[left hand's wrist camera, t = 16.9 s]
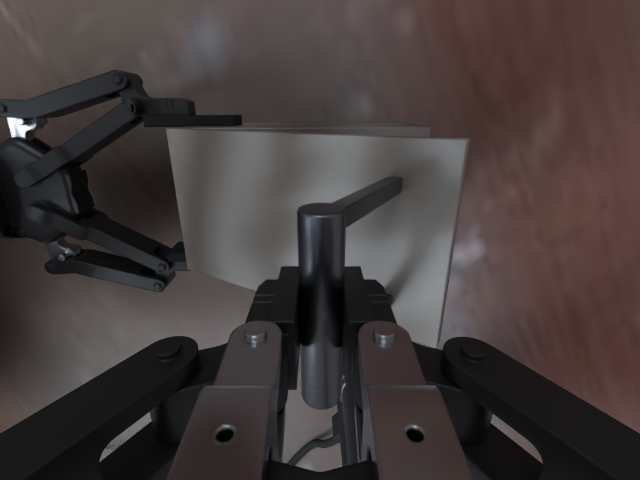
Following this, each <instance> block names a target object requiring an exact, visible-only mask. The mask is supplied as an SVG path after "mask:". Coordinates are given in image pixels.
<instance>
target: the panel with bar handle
mask: <svg viewBox="0 0 640 480" xmlns="http://www.w3.org/2000/svg"><path fill="white" fill-rule="evenodd" d="M166 133H167V139H168V146H169V152H170V159H171V165H172V171H173V178H174V184H175V191H176V197H177V203H178V210H179V216H180V223H181V229H182V236H183V242H184V248H185V255H186V261H187V268H188V270H191V271H195V272H198V273H201V274H204V275H207V276H210V277H213V278H216V279H220V280H223V281H226V282H229V283H232V284H235V285H238V286H241V287H245V288H248V289H251V290H254V291H257V288H258V286H259V285H260V284H262V283H263V282H264V281H265V280H266V279H278V277H279V273H280V269H281V266H298V271H299V309H300V347H301V384H302V397H303V399H304V401H305V402H306V404H307V405H309V406H310V407H312V408H315V409H328V408H331V407H333V406H334V405H336V404H337V403H338V401H339V400H340V398H341V391H342V376H343V375H344V365H343V354H342V321H343V286H344V283H345V266H360V267H361V270H362V274H363V278H364V279H375V280H377V281H378V282H379V283H380V284H381V285H383V286H384V289H385V291H386V294H387V297H388V300H389V303H390V305H391V308H392V311H393V313H394V316H395V319H396V322H397V324H398V325H400V326H401V327H403V328H404V329H405V330H406V331H407V332H408V333H409V335H410V337H411V340H412V341H413V342H416V343H419V344H423V345H426V346H429V347H432V348H435V349H436V348H437V346H438V344H439V341H440V336H441V329H442V323H443V316H444V309H445V303H446V296H447V290H448V283H449V276H450V270H451V263H452V256H453V250H454V243H455V237H456V230H457V223H458V217H459V210H460V204H461V197H462V190H463V184H464V177H465V170H466V164H467V157H468V151H469V144H470V139H469V138H446V137H418V136H389V135H360V134H332V133H303V132H274V131H246V130H217V129H188V128H167V129H166Z"/></svg>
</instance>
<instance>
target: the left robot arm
mask: <svg viewBox="0 0 640 480" xmlns="http://www.w3.org/2000/svg"><path fill="white" fill-rule="evenodd" d="M299 353H300V309H299V271H298V266H281V269H280V273H279V277H278V279H266V280H265V281H264V282H263V283H262V284H260V285H259V286H258V288H257V291H256V294H255V297H254V300H253V303H252V305H251V308H250V311H249V314H248V317H247V319H246V322H245V324H242V325H240V326H239V327H237V328H236V329H235V330H234V331H233V332H232V333H231V335H230V337H229V340H228V343H226V344H223V345H221V346H217V347H212V348H208V349H203V350H198V345H197V343H196V341H195V340H193V339H192V338H189V337H185V336H174V337H168V338H165V339H161V340H159V341H157V342H155V343H153V344H151V345H149V346H148V347H146V348H144V349H142V350H141V351H139V352H137V353H136V354H134V355H132V356H131V357H129V358H127V359H126V360H124V361H122V362H121V363H119V364H117V365H115V366H114V367H112V368H110V369H109V370H107V371H105V372H104V373H102V374H100V375H99V376H97V377H95V378H94V379H92V380H90V381H88V382H87V383H85V384H83V385H82V386H80V387H78V388H77V389H75V390H73V391H72V392H70V393H68V394H66V395H65V396H63V397H61V398H60V399H58V400H56V401H55V402H53V403H51V404H50V405H48V406H46V407H45V408H43V409H41V410H39V411H38V412H36V413H34V414H33V415H31V416H29V417H28V418H26V419H24V420H23V421H21V422H19V423H18V424H16V425H14V426H12V427H11V428H9V429H7V430H6V431H4V432H2V433H1V434H0V480H640V434H639V433H638V432H636V431H634V430H633V429H631V428H629V427H628V426H626V425H624V424H622V423H621V422H619V421H617V420H616V419H614V418H612V417H611V416H609V415H607V414H606V413H604V412H602V411H601V410H599V409H597V408H595V407H594V406H592V405H590V404H589V403H587V402H585V401H584V400H582V399H580V398H579V397H577V396H575V395H574V394H572V393H570V392H568V391H567V390H565V389H563V388H562V387H560V386H558V385H557V384H555V383H553V382H552V381H550V380H548V379H546V378H545V377H543V376H541V375H540V374H538V373H536V372H535V371H533V370H531V369H530V368H528V367H526V366H525V365H523V364H521V363H519V362H518V361H516V360H514V359H513V358H511V357H509V356H508V355H506V354H504V353H503V352H501V351H499V350H498V349H496V348H494V347H492V346H491V345H489V344H487V343H485V342H483V341H480V340H477V339H474V338H469V337H455V338H452V339H449V340H448V341H446V342H445V344H444V346H443V350H439V349H434V348H430V347H426V346H422V345H419V344H416V343H414V342H412V340H411V337H410V335H409V333H408V332H407V331H406V330H405V329H404V328H403V327H401V326H400V325H398V324H397V322H396V319H395V316H394V313H393V311H392V308H391V305H390V303H389V300H388V297H387V294H386V291H385V289H384V286H383V285H381V284H380V283H379V282H378V281H377V280H375V279H364V278H363V274H362V270H361V267H360V266H345V283H344V286H343V321H342V354H343V365H344V376H345V378H344V379H343V381H342V391H341V398H340V400H339V401H338V403H337V410H338V412H337V413H336V414H335V415H334V416H332V425H333V437H331V438H329V439H326V440H319V439H315V440H313V441H311V442H309V443H308V444H306V445H305V446H304V447H303V448H301V449H300V450H299V451H298V452H297V453H296V454H295V455H294V457H293V458H292V459H291V460H290V461H289V462H288V463H287V464H285V463H282V457H283V442H284V428H285V413H286V412H285V404H286V401H287V395H288V390H296V389H297V377H298V365H299ZM148 412H150V415H151V419H152V421H151V422H150V423H149V424H148V425H146V426H145V427H144V428H142V429H141V430H140V431H139V432H137V433H136V434H135V435H134V436H132V437H131V438H130V439H129V440H127V441H126V442H125V443H123V444H122V445H121V446H120V447H118V448H117V449H116V450H115V451H113V452H112V453H111V454H110V455H108V456H107V457H106V458H104V459H103V460H102V461H101V462H99V460H100V456H101V454H102V452H103V450H104V449H105V447H106V446H107V445H108V444H109V443H110V442H111V441H112V440H113V439H114V438H115V437H117V436H118V435H119V434H121V433H122V432H123V431H125V430H126V429H127V428H128V427H130V426H131V425H132V424H134V423H135V422H136V421H138V420H139V419H140V418H142V417H143V416H144V415H146V414H147V413H148ZM492 414H494V415H496V416H497V417H498V418H500V419H501V420H502V421H504V422H505V423H506V424H508V425H509V426H510V427H512V428H513V429H514V430H515V431H517V432H518V433H519V434H521V435H522V436H523V437H525V438H526V439H527V440H529V441H530V442H531V443H532V444H533V445H534V446H535V448H536V449H537V450H538V452H539V453H540V455H541V458H542V461H543V464H542V463H541V462H539V461H538V460H537V459H536V458H534V457H533V456H532V455H530V454H529V453H528V452H527V451H525V450H524V449H523V448H522V447H520V446H519V445H518V444H517V443H515V442H514V441H513V440H511V439H510V438H509V437H508V436H506V435H505V434H504V433H503V432H501V431H500V430H499V429H498V428H496V427H495V426H494V425H492V424H491V418H492ZM339 442H340V444H341V455H342V467H340V468H336V469H332V470H329V471H325V472H315V471H311V470H308V469H304V468H300V467H296V466H295V464H296V463H297V462H298V461H299V460H300V459H301V458H302V457H303V456H304V455H305V454H306V453H307V452H308V451H310V450H311V449H313V448H315V447H320V448H326V447H330V446H332V445H335V444H337V443H339Z"/></svg>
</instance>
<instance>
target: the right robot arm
mask: <svg viewBox="0 0 640 480" xmlns="http://www.w3.org/2000/svg"><path fill="white" fill-rule="evenodd" d="M142 85H143V82H142V79H141V78H140V76H138V75H137V74H134V73H129V72H124V71H119V70H113V71H110V72H107V73H104V74H101V75H98V76H96V77H93V78H90V79H87V80H84V81H81V82H78V83H75V84H72V85H69V86H66V87H63V88H60V89H57V90H54V91H52V92H49V93H46V94H43V95H40V96H37V97H34V98H31V99H28V100H13V99H0V116H1V117H7V120H8V124H9V128H10V132H11V136H12V138H9V139H8V140H6V141H5V142H3V143H0V238H31V239H35V240H37V241H39V242H42V243H45V245H46V248H47V250H48V253H49V255H50V258H51V260H50V261H48V262H47V263H45V269H46V271H47V272H48V273H50V274H67V273H77V274H81V275H85V276H90V277H94V278H98V279H103V280H107V281H111V282H116V283H120V284H124V285H129V286H133V287H137V288H142V289H146V290H151V291H155V292H162V291H163V290H164V289H165V288H166V287H167V286H168V284H169V283H170V282H171V281H172V280H173V278H174V277H175V271H191V270H188V268H187V261H186V255H185V248H184V242H178V243H177V244H176V245H175V246H174V247H173V248H169V247H167V246H165V245H163V244H161V243H159V242H157V241H155V240H153V239H151V238H148V237H146V236H144V235H142V234H140V233H138V232H136V231H134V230H132V229H129V228H127V227H125V226H123V225H121V224H119V223H117V222H115V221H113V220H111V219H109V218H108V216H107V215H106V214H105V213H103V212H100V211H98V210H96V209H94V208H92V207H94V202H93V198H92V196H91V194H90V192H89V190H88V188H87V186H88V178H87V174H86V170H82V169H81V167H80V166H81V165H82V164H84V163H85V162H86V161H88V160H89V159H91V158H92V157H93V155H94V154H96V153H97V152H99V151H100V150H102V149H103V148H105V147H106V146H107V145H109V144H110V143H112V142H113V141H115V140H116V139H118V138H119V137H121V136H122V135H124V134H125V133H127V132H128V131H130V130H131V129H132V128H134V127H135V126H137V125H138V124H140V123H141V122H144V127H186V126H239V125H242V117H241V115H196V113H195V105H194V102H193V101H191V100H188V99H181V98H151V97H149V96H148V95H147V94H146V92H145V91H144V89H143V87H142ZM118 97H122V99H121V100H122V101H124V102H122V103H121V104H119V105H118V106H117V107H115V108H114V109H112V110H111V111H109V112H108V113H107V114H105V115H104V116H102V117H101V118H99V119H98V120H97V121H95V122H94V123H92V124H91V125H90V126H88V127H87V128H85V129H84V130H82V131H81V132H80V133H78V134H77V135H75V136H74V137H72V138H71V139H70V140H68V141H67V142H65V143H64V144H62V145H60V146H58V147H55V148H52V147H51V146H49V145H47V144H46V143H44V142H43V141H41V140H39V139H37V138H35V137H34V133H35V131H36V130H37V129H41V128H43V127H44V126H45V124H47V123H48V120H47V118H54V117H60V116H64V115H67V114H70V113H73V112H76V111H79V110H82V109H85V108H88V107H91V106H94V105H97V104H100V103H103V102H106V101H109V100H112V99H115V98H118ZM66 235H69V236H72V237H74V238H76V239H80V240H89V241H91V242H94V243H96V244H98V245H100V246H102V247H105V248H107V249H109V250H111V251H113V252H115V253H118V254H120V255H122V256H124V257H122V256H118V255H114V254H109V253H105V252H101V251H97V250H90V249H82V246H81V245H74V244H69V243H67V242H66V241H65V240H64V238H63V237H64V236H66Z"/></svg>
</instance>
